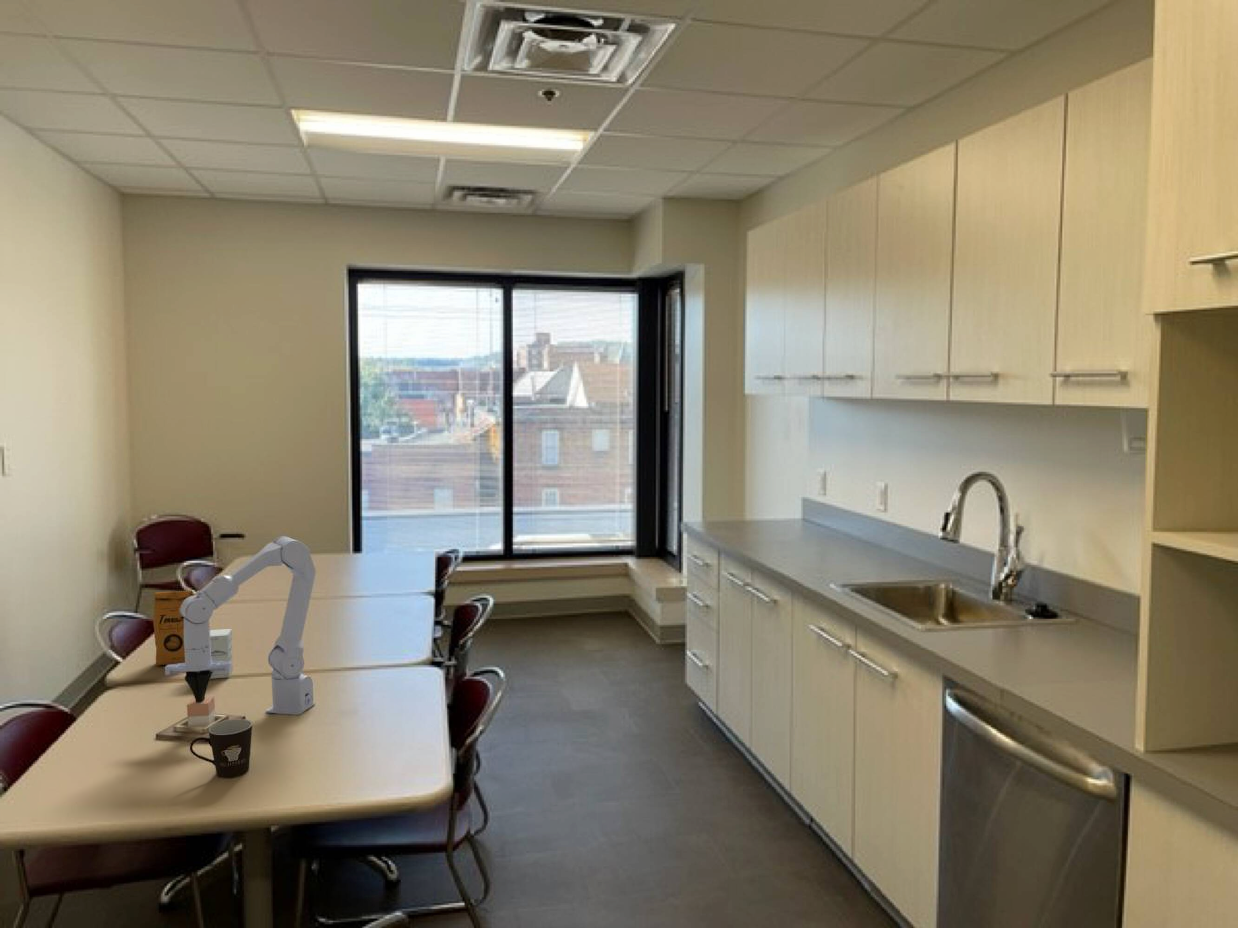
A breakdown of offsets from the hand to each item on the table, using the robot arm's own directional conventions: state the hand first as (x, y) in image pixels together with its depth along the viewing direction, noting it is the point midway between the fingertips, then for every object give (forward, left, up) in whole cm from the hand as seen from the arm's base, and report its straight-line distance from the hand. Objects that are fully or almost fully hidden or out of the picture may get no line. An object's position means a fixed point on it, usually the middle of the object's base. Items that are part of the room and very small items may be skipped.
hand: (200, 701), depth 210 cm
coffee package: (+41, -44, -7) cm, 61 cm away
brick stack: (0, 0, -6) cm, 6 cm away
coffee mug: (-21, +20, -7) cm, 30 cm away
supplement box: (+22, -36, -7) cm, 43 cm away
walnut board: (0, 0, -7) cm, 7 cm away
